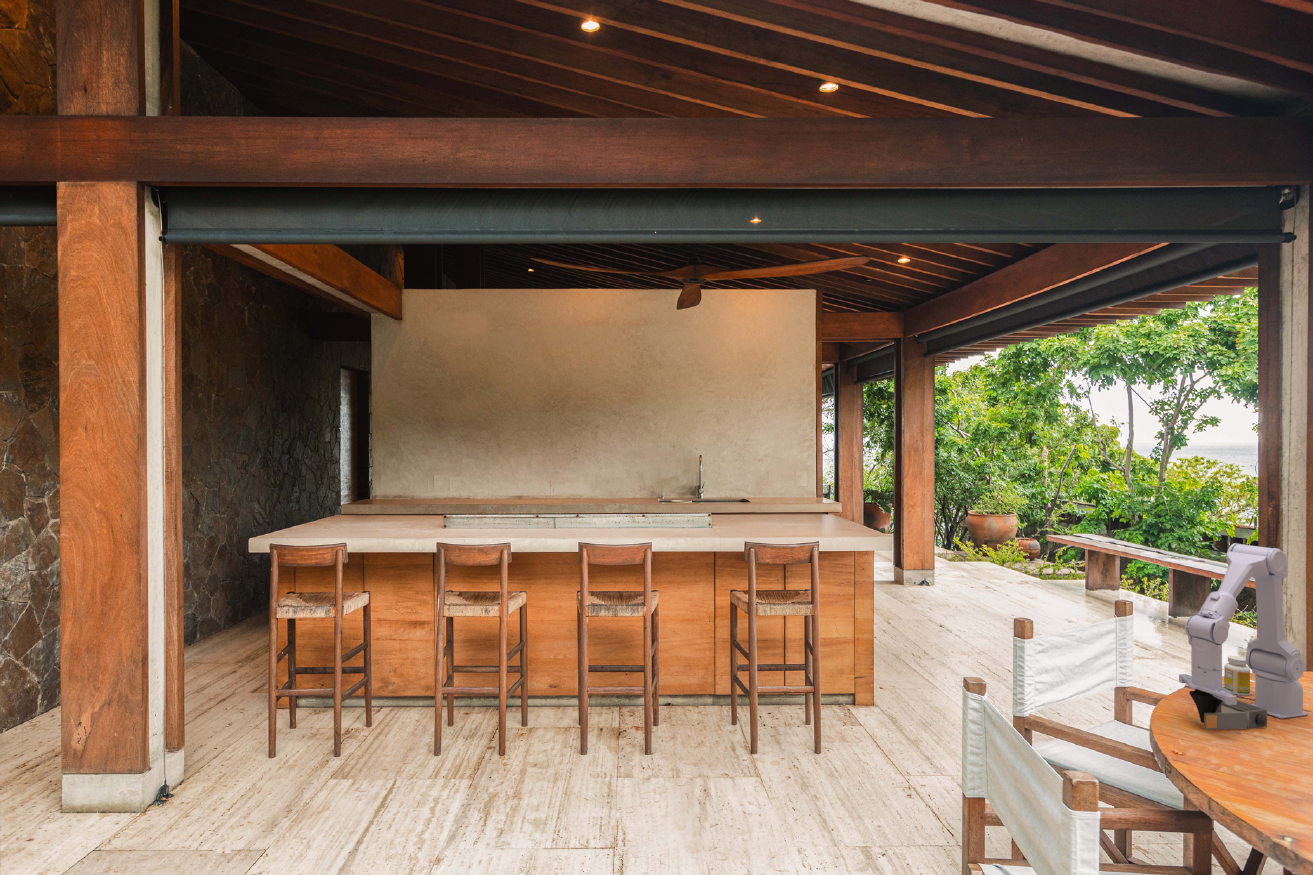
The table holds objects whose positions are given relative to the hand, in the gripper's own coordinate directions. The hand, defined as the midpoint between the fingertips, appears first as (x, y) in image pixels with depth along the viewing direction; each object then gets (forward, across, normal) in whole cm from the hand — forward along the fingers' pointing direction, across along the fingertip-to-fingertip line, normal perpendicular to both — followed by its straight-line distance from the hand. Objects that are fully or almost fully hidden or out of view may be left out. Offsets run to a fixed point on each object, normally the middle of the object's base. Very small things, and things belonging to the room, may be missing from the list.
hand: (1206, 722), depth 160 cm
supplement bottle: (+2, -22, +27) cm, 35 cm away
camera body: (+1, -4, +11) cm, 12 cm away
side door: (+1, +1, +4) cm, 4 cm away
